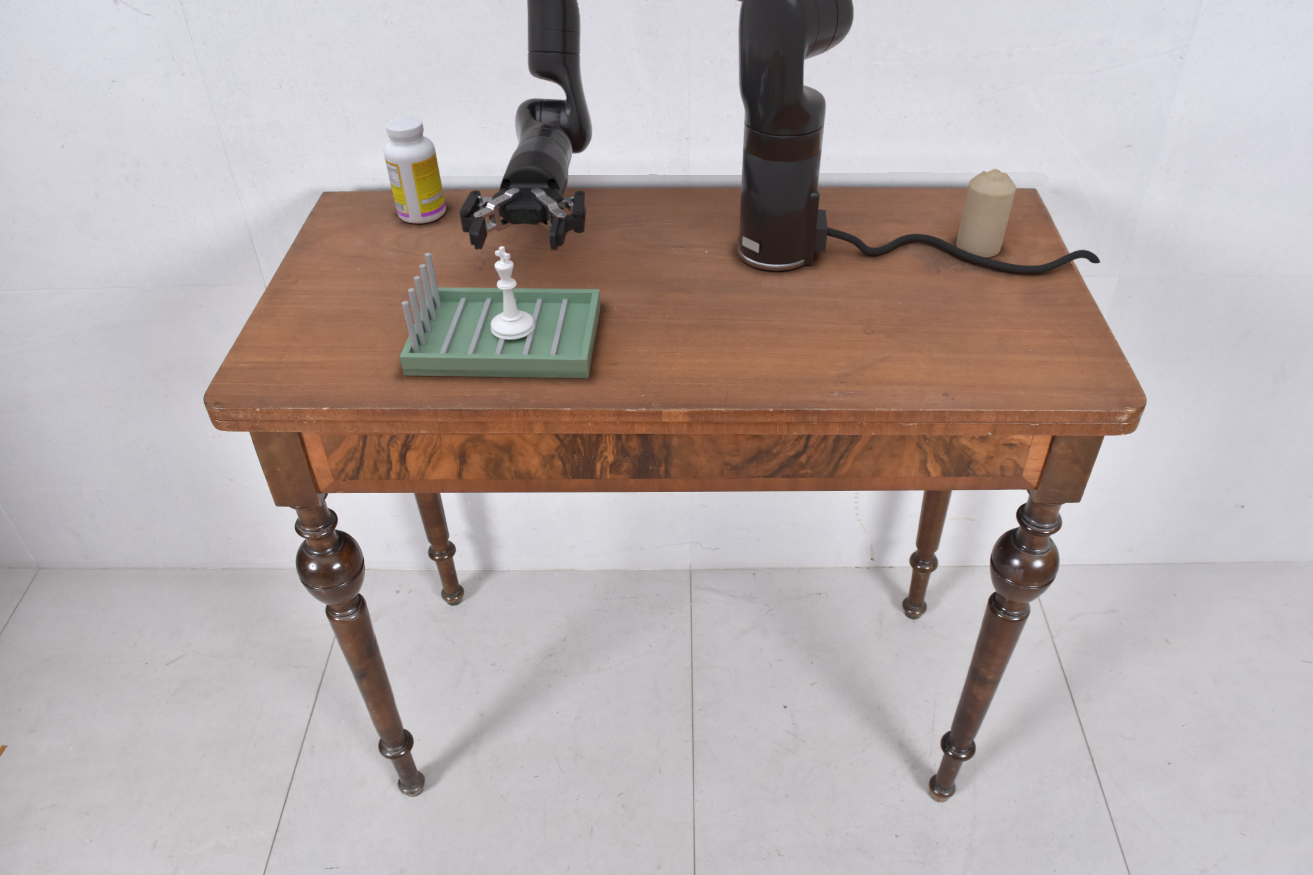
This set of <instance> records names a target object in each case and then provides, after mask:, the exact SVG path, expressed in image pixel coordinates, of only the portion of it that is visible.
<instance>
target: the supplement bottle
mask: <svg viewBox="0 0 1313 875" xmlns="http://www.w3.org/2000/svg"><path fill="white" fill-rule="evenodd" d="M385 130H386V135H387V136H388V138H389V141H388V142H387V143H386V144H385V145H384V147H383V157H384V161H385V165H386V170H387V174H388V178H389V182H390V188H391V192H392V197H393V200H394V206H395V209H396V213H397V216H398V217H399V219H400V220H402V221H403V222H406V223H409V224H427V223H432V222H434V221H436V220H439V219H440V218H442V217H443V215H445V213H446V210H447V205H446V199H445V193H444V189H443V183H442V178H441V173H440V168H439V162H438V156H437V152H436V146H435V145H434V142H433V141H432V140H431V139H430V138H428V137H427V136H424V131H425V129H424V124H423V121H422V119H421V118H418V117H415V116H401V117H396V118H393V119H390V120H389V121H387V122H386V124H385Z"/></svg>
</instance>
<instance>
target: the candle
mask: <svg viewBox="0 0 1313 875" xmlns="http://www.w3.org/2000/svg"><path fill="white" fill-rule="evenodd" d="M1016 191H1017V185H1016V184H1015V182H1014V181H1013V179H1011V177H1010V176H1009V174H1008V173H1007V172H1002V171H1001V170H1000V169H998V168H993V169H991V170H989V171H985V170H983V171H981V172H980V173H979V174H976V175H975V176H974V177H972V178H971V179H970V180H969V181H968V186H967V191H966V196H965V201H964V205H963V209H962V213H961V214H962V215H961V219H960V224H959V228H958V233H957V239H956V243H955V244H956V247H957V248H959V249H962V250H964V251H966V252H969V253H971V254H975V255H978V256H982V257H985V258H993V257H995V256H997V255H999V253H1000V252H1001V249H1002V246H1003V242H1004V238H1005V235H1006V231H1007V227H1008V224H1009V218H1010V214H1011V210H1012V208H1013V202H1014V199H1015V195H1016Z"/></svg>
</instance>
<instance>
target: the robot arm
mask: <svg viewBox="0 0 1313 875" xmlns="http://www.w3.org/2000/svg"><path fill="white" fill-rule="evenodd" d="M577 1H578V0H526V5H527V8H526V9H527V68H528V72H529V74H530V75H531V76H532V77H534V78H536V79H539V80H542V81H546V82H550V83H553V84H556V85H558V86H559V87H560V88H561V89H562V91H563V92H564V95H565V99H560V98H559V99H558V98H557V99H556V98H539V97H538V98H537V97H535V98H529V99H526V100H524V101H522V102H521V103H520V104H519V105H518V106H517V109H516V112H515V115H514V116H515V117H514V128H515V133H516V138H517V142H518V144H517V147H516V149H515V150H514V152H513V153H512V155H511V157H510V159H509V162H508V164H507V166H506V168H505V172H504V173H503V177H502V180H501V181H500V185H499V190H498V191H497V192H495V193H493V195H492V196H482V194H481V191H480V190H478V189H474V190H471V191H470V192H469V194H468V195H467V197H466V199H465V200H464V202H463V204H462V205H461V208H459V211H458V212H459V219H460V223H461V224H460V225H461V230H462V232H463V233H467V234H468V236H469V241H470V242H469V243H470V245H471V246H474V250H483V247H484V245H485V243H486V239H487V237H488V234H489V233H491V232H494V231H497V232H501V231H503V230H505V229H508V228H509V227H511V226H513V225H534V226H535V225H536V226H537V225H541V226H542V227H543V228H545V229H546V230H547V231H549V232H548V235H549V236H548V237H549V247H550V248H549V249H550V250H551V251H558V250H559V249H558V248H559V247H562V246H563V245H564V244H565V241H566V237H567V235H569V232H572V231H573V232H574V233H575V234H583V233H584V232H585V228H586V217H587V205H586V202H587V201H586V192H585V191H584V190H576V191H574V194H573V195H571V196H566V197H564V194H565V191H566V189H567V186H568V182H569V179H568V178H569V169H570V165H571V161H572V158H573V157H572V156H573V154H574V155H576V154H581V153H583V152H584V151H585V150H586V149H587V148H588V147H589V145H590V143H591V141H592V138H593V123H592V119H591V114H590V111H589V107H588V103H587V99H586V95H585V91H584V85H583V80H582V72H581V70H582V69H581V26H582V24H581V12H580V8H579V7H580V6H579V1H578V2H577ZM736 1H738V2H740V3H741V4H740V8H739V15H738V29H737V30H738V31H737V32H738V33H737V34H738V36H737V38H738V39H737V40H738V41H737V42H738V88H739V89H738V90H739V95H740V98H741V102H742V104H743V109H744V116H743V117H744V119H743V143H742V144H743V145H742V162H741V163H742V164H741V183H740V184H741V186H740V187H741V188H740V204H739V205H740V206H739V209H740V210H739V232H738V242H737V255H738V258H740V260H741V261H742V262H744V263H745V264H746V265H748V266H751V267H753V268H756V269H759V270H764V271H770V272H783V271H791V270H795V269H798V268H800V267H802V266H812V265H813V263H814V255H815V252H816V253H817V252H818V253H819V252H820V253H825V252H826V250H827V240H828V237H831V238H834V239H839V240H841V241H844V242H847V243H850V244H852V245H853V246H854V247H856V248H857V249H858V250H859V251H860V252H861V253H863V254H864V255H867V256H875V257H877V256H882V255H884V254H887V253H889V252H891V251H893V250H894V249H896V248H898V247H899V246H901V245H904V244H907V243H912V242H913V243H915V242H917V243H924V244H930V245H932V246H935V247H938V248H940V249H942V250H944V251H945V252H948V253H950V254H951V255H953V256H955V257H956V258H959V259H961V260H964V261H966V262H970V263H972V264H976V265H980V266H983V267H988V268H990V269H994V270H997V271H1003V272H1008V273H1013V274H1014V273H1015V274H1023V275H1036V274H1037V275H1038V274H1043V273H1047V272H1050V271H1053V270H1056V269H1059V268H1061V267H1062V266H1066V264H1069V263H1070V262H1073V261H1075V260H1079V259H1086V260H1088V261H1089V262H1090V263H1092V264H1100V263H1101V260H1100V258H1099V257H1098V255H1097V254H1096V253H1094V252H1092V251H1091V250H1087V249H1077V250H1074V251H1072V252H1070V253H1069V252H1068V253H1067V254H1065V255H1063V256H1061V257H1059V258H1057V259H1054V260H1052V261H1050V262H1046V263H1043V264H1037V265H1035V264H1034V265H1024V264H1015V263H1009V262H1004V261H1000V260H996V259H993V258H990V257H986V258H985V257H982V256H978V255H975V254H971V253H969V252H966V251H964V250H962V249H959V248H957V245H956V246H955V245H953V244H952V243H949V241H946V240H944V239H942V238H939V237H937V236H934V235H931V234H924V233H909V234H905V235H901V236H899V237H897V238H895V239H893V240H892V241H890V242H888V243H886V244H885V245H881V246H877V247H876V246H875V247H873V246H869V245H867V244H866V243H865V242H864V241H863V240H862V239H860V238H859V237H858V236H855V235H853V234H851V233H848V232H846V231H842V230H839V229H835V228H833V227H829V226H828V220H827V211H826V209H819V207H820V197H821V194H820V188H819V180H820V172H821V171H820V170H821V160H822V150H823V140H824V131H825V123H826V114H827V113H826V112H827V101H826V97H825V96H824V95H823V93H822V92H820V91H819V90H817V89H816V88H813V87H811V86H808V85H805V82H804V81H805V80H804V78H805V76H804V75H805V73H804V72H805V60H808V59H812V58H814V57H817V56H819V55H822V54H825V53H826V52H828V51H829V50H832V49H833V48H835V47H836V46H838V45H839V44H841V43H842V42H843V41H844V40H845V38H846V37H847V36H848V34H849V32H850V31H851V28H852V26H853V23H854V19H855V18H854V16H855V15H854V14H855V10H854V9H855V8H854V3H853V0H736ZM578 6H579V7H578ZM579 12H580V13H579ZM564 209H567V210H568V212H570V213H569V214H567V212H566V211H565V210H564ZM486 218H488V221H487V223H486ZM501 218H502V219H501Z"/></svg>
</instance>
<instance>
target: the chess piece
mask: <svg viewBox="0 0 1313 875" xmlns="http://www.w3.org/2000/svg"><path fill="white" fill-rule="evenodd" d="M494 255H495V256H496V257H499V260H497V261H496V262H495V263H494V270H495V271H496V273H497V274H498V276H499V279H498V281H497V283H496V288H499V289H502V290H503V312H502V313H500V314H498V315H497V316H495V317H494V318H493V319H492V321H491V332H492V334H493V335H495V336H496V337H498V338H501V339H507V340H512V339H519V338H522V337H525V336H527V335H529V334H530V333H531V332H532V331H533V330H534V328H535V323H534V319H533V317H532V316H531V315H530V314H529V313H527V312H524V311H519V310H518V309H517V305H516V302H515V298H514V295H513V291H512V288H516V286H517V284H518V282H517V280H516V279H515V278H512V276H513V269H514V264H515V263H514V262H513V261H512V260H510V259H511V253H508V252H506V247H505V246H502V245H501V246H499V247H498V249H496V250H495V251H494Z"/></svg>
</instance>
